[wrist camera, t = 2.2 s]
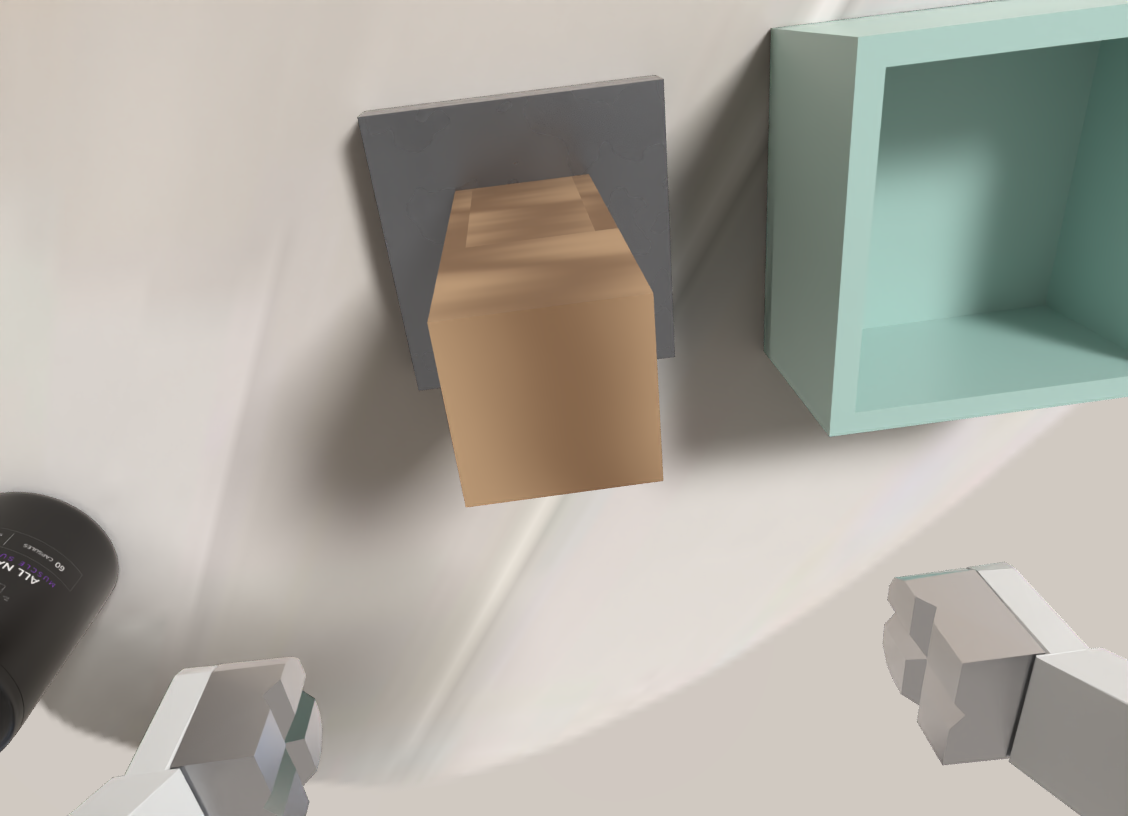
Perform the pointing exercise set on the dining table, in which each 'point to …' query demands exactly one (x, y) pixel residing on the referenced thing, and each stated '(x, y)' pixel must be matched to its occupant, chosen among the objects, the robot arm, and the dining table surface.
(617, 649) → the dining table surface
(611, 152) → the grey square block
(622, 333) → the walnut strut
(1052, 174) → the sage bin
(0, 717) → the supplement bottle
